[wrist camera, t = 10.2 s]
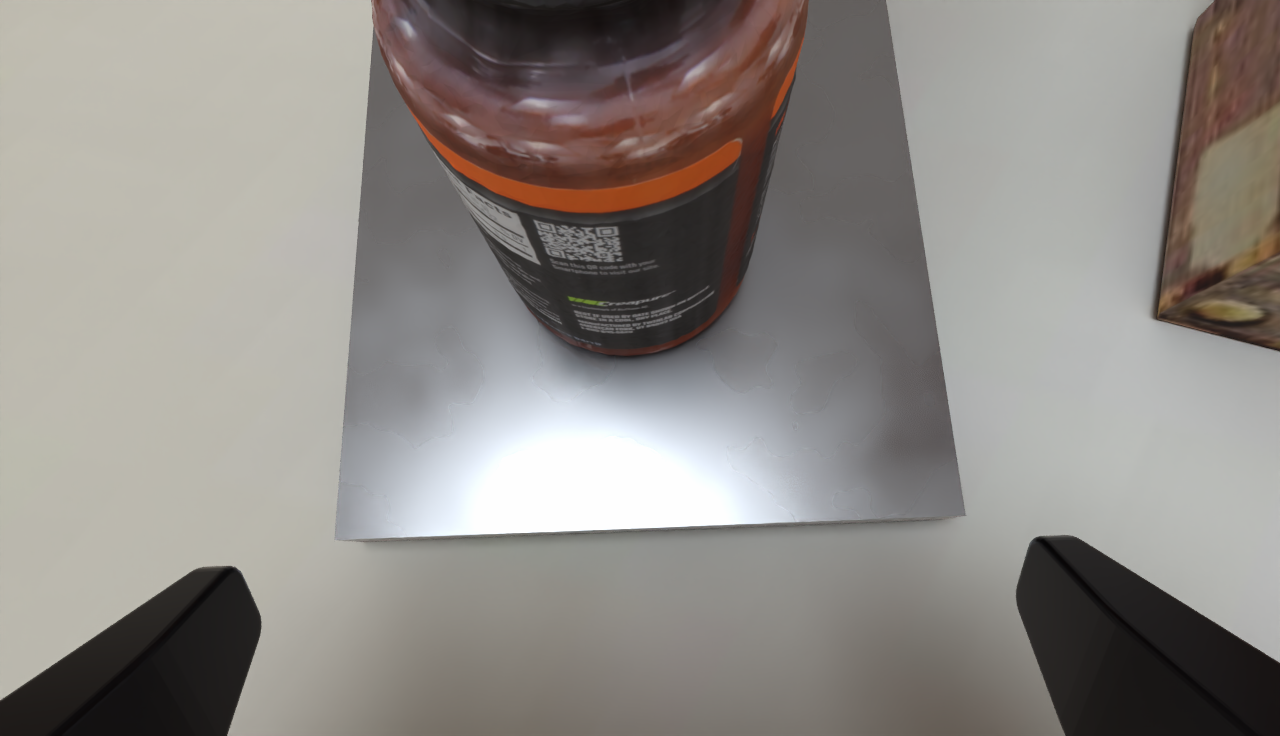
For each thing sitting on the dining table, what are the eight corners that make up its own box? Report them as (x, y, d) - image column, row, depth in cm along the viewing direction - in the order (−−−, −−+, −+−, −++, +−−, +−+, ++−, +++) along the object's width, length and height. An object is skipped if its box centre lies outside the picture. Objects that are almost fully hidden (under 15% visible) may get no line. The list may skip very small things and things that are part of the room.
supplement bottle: (685, 108, 19) (710, -543, 8) (792, 302, 17) (1013, -167, 6) (473, 197, 18) (175, -360, 7) (563, 404, 17) (360, 97, 6)
